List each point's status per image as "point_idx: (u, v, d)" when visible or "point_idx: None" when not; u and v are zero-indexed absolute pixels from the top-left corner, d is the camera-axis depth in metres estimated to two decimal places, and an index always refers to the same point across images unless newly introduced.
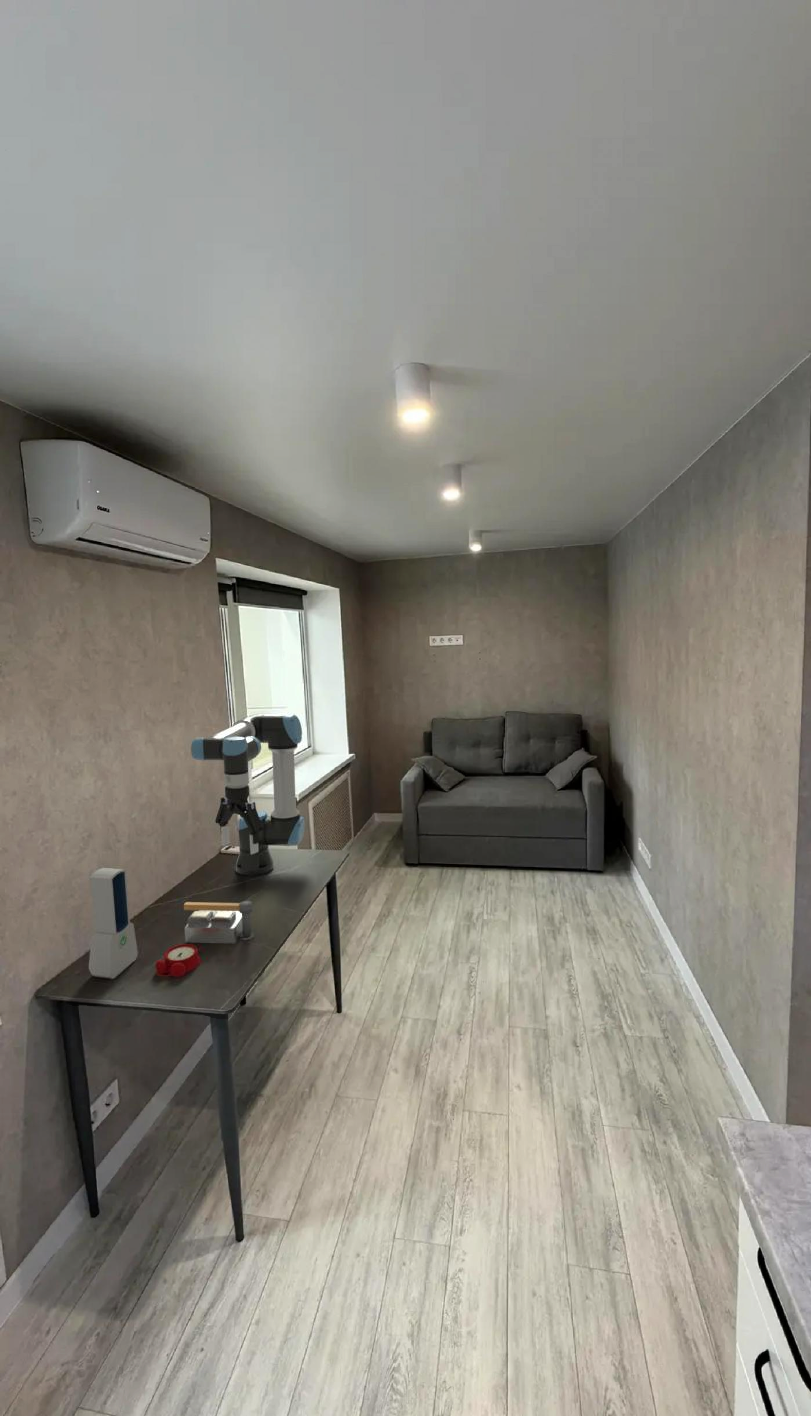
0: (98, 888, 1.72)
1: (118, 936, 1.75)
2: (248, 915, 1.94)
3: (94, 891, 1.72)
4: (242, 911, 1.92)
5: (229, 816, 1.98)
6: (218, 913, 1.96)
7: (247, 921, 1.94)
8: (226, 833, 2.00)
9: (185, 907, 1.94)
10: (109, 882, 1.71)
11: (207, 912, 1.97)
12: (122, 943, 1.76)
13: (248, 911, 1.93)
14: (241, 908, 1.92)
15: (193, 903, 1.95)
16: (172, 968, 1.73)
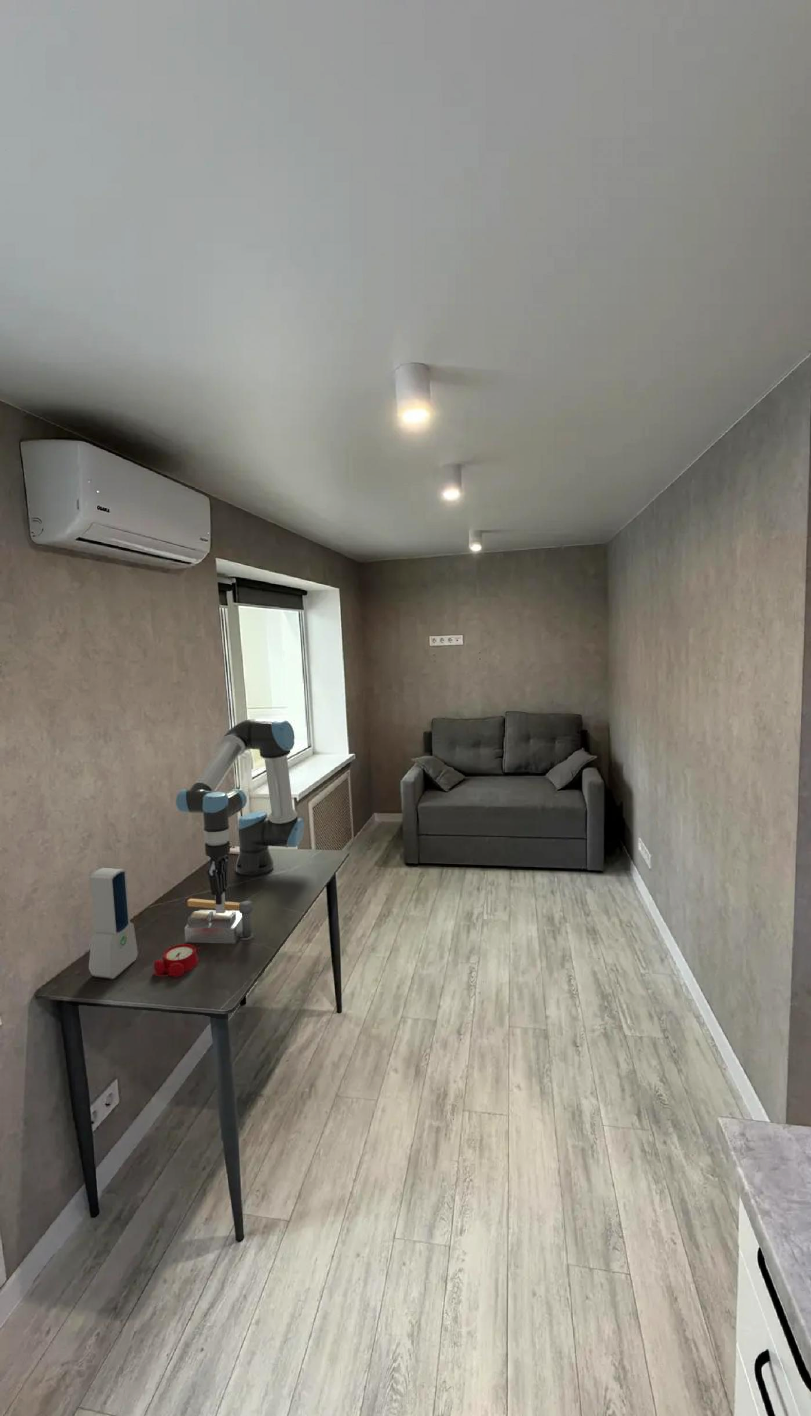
0: (98, 888, 1.72)
1: (118, 936, 1.75)
2: (248, 915, 1.94)
3: (94, 891, 1.72)
4: (241, 911, 1.92)
5: None
6: (218, 913, 1.96)
7: (247, 921, 1.94)
8: None
9: (189, 903, 1.97)
10: (109, 882, 1.71)
11: (207, 912, 1.97)
12: (122, 943, 1.76)
13: (247, 911, 1.93)
14: (240, 908, 1.92)
15: (196, 900, 1.97)
16: (170, 968, 1.73)
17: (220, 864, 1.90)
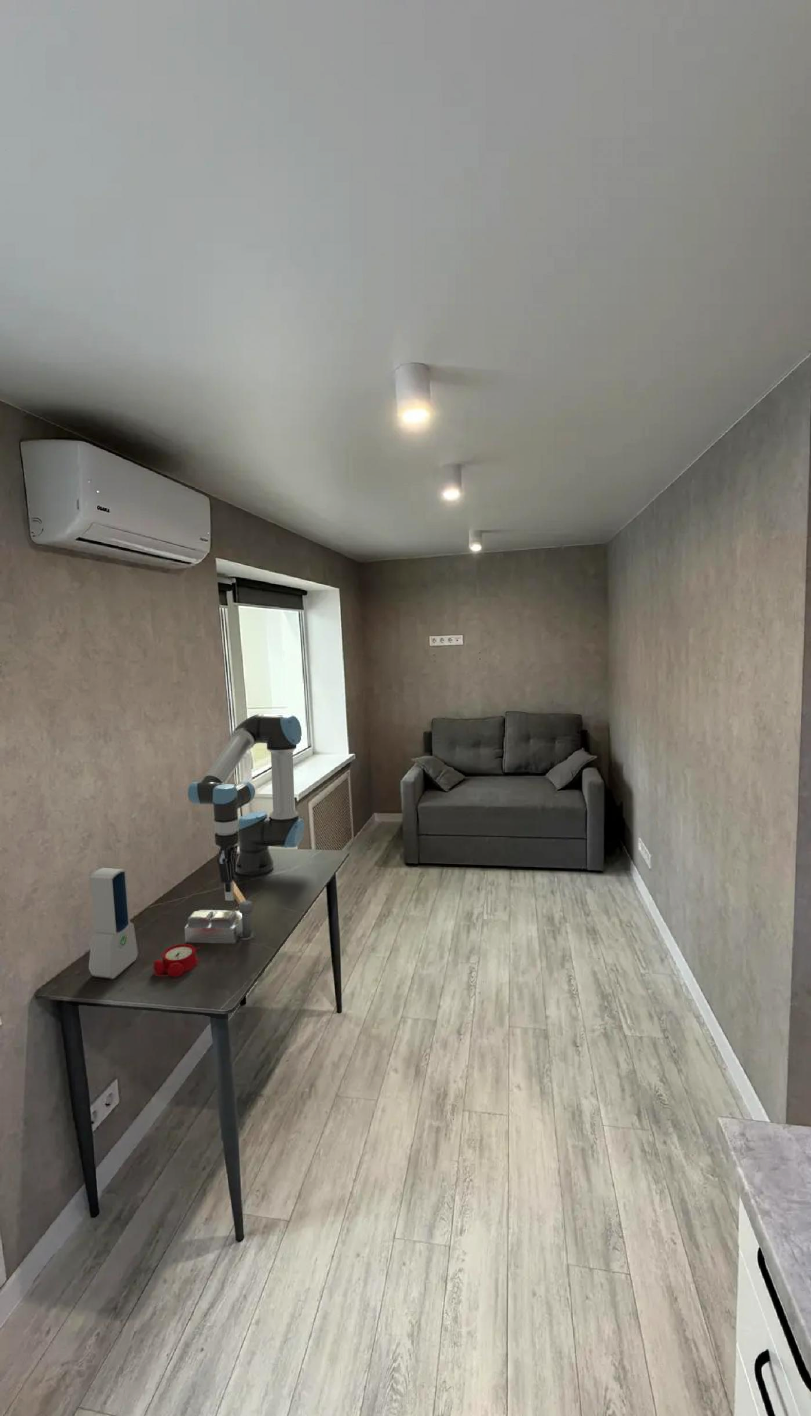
0: (98, 888, 1.72)
1: (118, 936, 1.75)
2: (244, 916, 1.93)
3: (94, 891, 1.72)
4: (239, 909, 1.94)
5: None
6: (218, 913, 1.96)
7: (243, 921, 1.94)
8: None
9: None
10: (109, 882, 1.71)
11: (207, 912, 1.97)
12: (122, 943, 1.76)
13: (242, 912, 1.92)
14: (239, 906, 1.94)
15: None
16: (170, 968, 1.73)
17: (229, 853, 1.99)
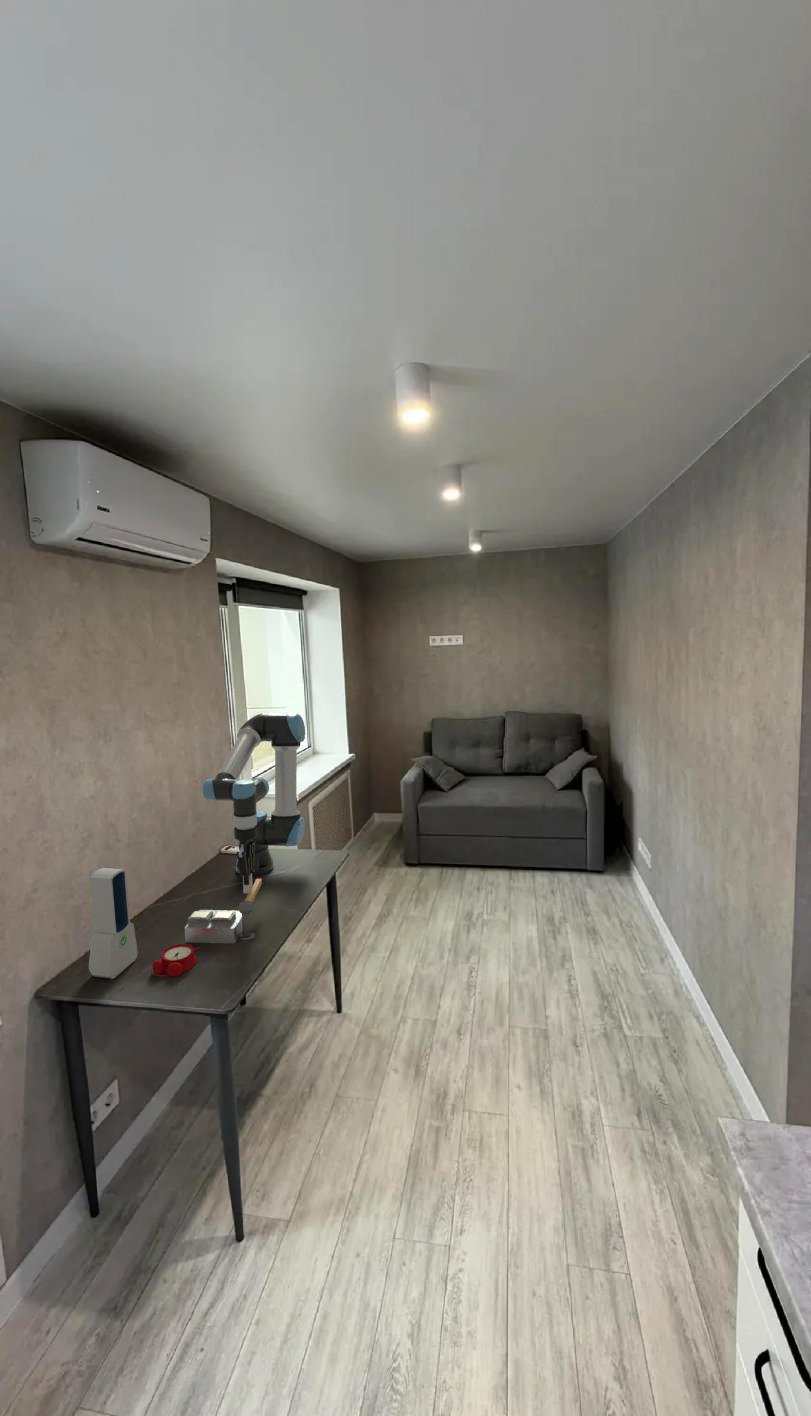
0: (98, 888, 1.72)
1: (118, 936, 1.75)
2: (243, 916, 1.93)
3: (94, 891, 1.72)
4: None
5: None
6: (218, 913, 1.96)
7: (242, 920, 1.94)
8: None
9: None
10: (109, 882, 1.71)
11: (207, 912, 1.97)
12: (122, 943, 1.76)
13: (240, 911, 1.93)
14: None
15: (256, 882, 2.11)
16: (169, 968, 1.73)
17: (248, 847, 2.04)
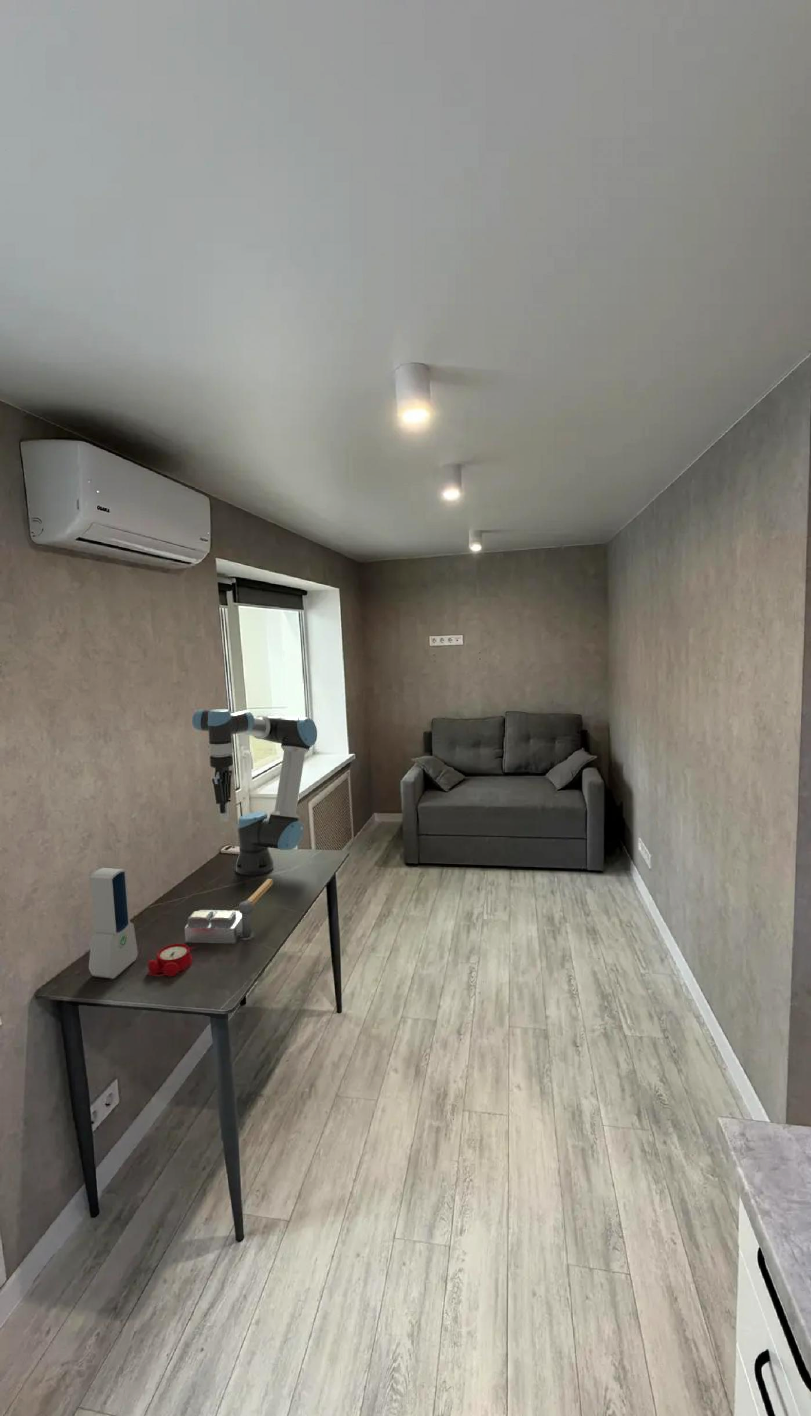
0: (98, 888, 1.72)
1: (118, 936, 1.75)
2: (242, 915, 1.94)
3: (94, 891, 1.72)
4: None
5: None
6: (218, 913, 1.96)
7: (242, 920, 1.94)
8: None
9: None
10: (109, 882, 1.71)
11: (207, 912, 1.97)
12: (122, 943, 1.76)
13: (239, 910, 1.93)
14: None
15: (266, 882, 2.11)
16: (165, 968, 1.73)
17: (224, 775, 2.06)
